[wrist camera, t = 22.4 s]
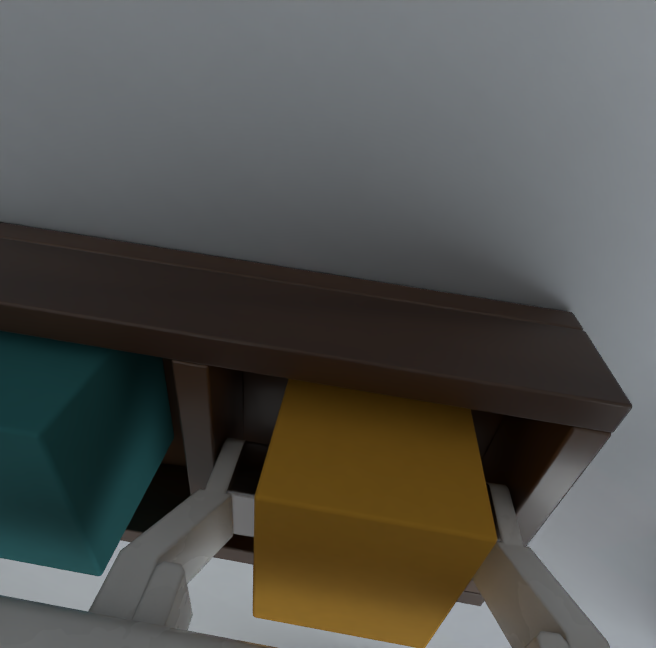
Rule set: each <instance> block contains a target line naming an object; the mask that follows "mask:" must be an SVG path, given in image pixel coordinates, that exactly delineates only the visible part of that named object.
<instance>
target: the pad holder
mask: <svg viewBox="0 0 656 648" xmlns="http://www.w3.org/2000/svg"><path fill="white" fill-rule="evenodd" d="M0 331H5V332H11V333H17V334H23V335H29V336H35V337H41V338H47V339H53V340H59V341H65V342H71V343H77V344H83V345H89V346H95V347H101V348H107V349H113V350H119V351H125V352H131V353H137V354H143V355H149V356H155V357H161V358H162V360H163V366H164V373H165V379H166V386H167V392H168V399H169V405H170V412H171V418H172V424H173V431H174V439H173V441H172V443H171V445H170V447H169V449H168V450H167V452H166V454H165V456H164V458H163V460H162V462H161V464H160V466H159V468H158V469H157V471H156V473H155V475H154V477H153V479H152V481H151V483H150V485H149V486H148V488H147V490H146V492H145V494H144V496H143V498H142V500H141V502H140V503H139V505H138V507H137V509H136V511H135V513H134V515H133V517H132V519H131V521H130V522H129V524H128V526H127V528H126V530H125V532H124V534H123V536H122V538H121V539H120V540H122V541H128V542H132V541H134V540H135V539H136V538H137V537H139V536H140V535H141V534H143V533H144V532H145V531H146V530H148V529H149V528H150V527H151V526H153V525H154V524H155V523H157V522H158V521H159V520H160V519H162V518H163V517H164V516H165V515H167V514H168V513H169V512H171V511H172V510H173V509H174V508H176V507H177V506H178V505H179V504H181V503H182V502H183V501H185V500H186V499H187V498H188V497H190V496H191V495H192V494H194V493H195V492H196V491H197V490H199V489H203V490H205V488H206V485H207V483H208V480H209V478H210V475H211V473H212V470H213V468H214V466H215V463H216V461H217V458H218V456H219V453H220V451H221V448H222V446H223V443H224V442H225V440H226V439H227V437H230V438H235V439H241V440H246V441H251V442H256V443H262V444H267V445H269V444H270V441H271V437H272V434H273V431H274V427H275V424H276V420H277V417H278V413H279V410H280V407H281V403H282V400H283V396H284V393H285V389H286V386H287V383H288V379H293V380H299V381H305V382H311V383H317V384H323V385H329V386H335V387H341V388H347V389H353V390H359V391H365V392H371V393H377V394H383V395H389V396H394V397H400V398H406V399H412V400H418V401H424V402H430V403H436V404H442V405H448V406H454V407H460V408H466V409H471V414H472V419H473V423H474V428H475V433H476V438H477V443H478V448H479V452H480V457H481V462H482V467H483V472H484V477H485V481H486V482H489V483H495V484H502V485H506V486H507V487H508V489H509V491H510V495H511V499H512V503H513V507H514V510H515V514H516V518H517V522H518V525H519V529H520V533H521V537H522V541H523V544H524V546H525V547H526V546H527V544H528V543H529V542H530V541H531V539H532V538H533V537H534V535H535V534H536V533H537V531H538V530H539V529H540V527H541V526H542V525H543V524H544V522H545V521H546V520H547V518H548V517H549V516H550V514H551V513H552V512H553V511H554V509H555V508H556V507H557V505H558V504H559V503H560V501H561V500H562V499H563V497H564V496H565V495H566V494H567V492H568V491H569V490H570V488H571V487H572V486H573V484H574V483H575V482H576V481H577V479H578V478H579V477H580V475H581V474H582V473H583V471H584V470H585V469H586V468H587V466H588V465H589V464H590V462H591V461H592V460H593V458H594V457H595V456H596V454H597V453H598V452H599V451H600V449H601V448H602V447H603V445H604V444H605V443H606V441H607V440H608V439H609V438H610V436H611V432H614V431H615V430H616V428H617V427H618V426H619V424H620V423H621V422H622V420H623V419H624V418H625V417H626V415H627V414H628V413H629V411H630V410H631V409H632V404H631V403H630V401H629V399H628V398H627V396H626V395H625V393H624V392H623V390H622V388H621V387H620V385H619V384H618V382H617V381H616V379H615V377H614V376H613V374H612V373H611V371H610V370H609V368H608V366H607V365H606V363H605V362H604V360H603V359H602V357H601V355H600V354H599V352H598V351H597V349H596V348H595V346H594V344H593V343H592V341H591V340H590V338H589V337H588V335H587V333H586V332H585V331H583V328H582V326H581V325H580V323H579V321H578V320H577V318H576V317H575V315H574V314H573V313H572V312H567V311H561V310H554V309H548V308H542V307H535V306H529V305H522V304H516V303H510V302H503V301H497V300H491V299H484V298H478V297H472V296H465V295H459V294H453V293H446V292H440V291H434V290H427V289H421V288H414V287H408V286H402V285H395V284H389V283H383V282H376V281H370V280H364V279H357V278H351V277H345V276H338V275H332V274H326V273H319V272H313V271H307V270H300V269H294V268H287V267H281V266H275V265H268V264H262V263H256V262H249V261H243V260H237V259H230V258H224V257H218V256H211V255H205V254H199V253H192V252H186V251H179V250H173V249H167V248H160V247H154V246H148V245H141V244H135V243H129V242H122V241H116V240H110V239H103V238H97V237H91V236H84V235H78V234H72V233H65V232H59V231H52V230H46V229H40V228H33V227H27V226H21V225H14V224H8V223H2V222H0ZM213 557H215V558H221V559H226V560H232V561H237V562H242V563H248V564H253V561H254V537H251V536H244V535H238V534H233V536H232V537H231V538H230V540H229V541H228V542H227V543H226V544H225V545H224V546H223V547H222V548H221V549H220V550H219V551H218V552H217V553H216V554H215V555H214V556H213ZM484 601H485V600H484V599H483V597H482V595H481V594H480V592H479V590H478V589H477V587H476V585H475V583H474V582H473V580H472V579H471V581H470V582H469V584H468V585H467V587H466V588H465V590H464V591H463V593H462V594H461V595H460V597H459V598H458V600H457V601H456V602H461V603H466V604H472V605H477V606H481V605H482V603H483V602H484Z"/></svg>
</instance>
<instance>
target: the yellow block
mask: <svg viewBox="0 0 656 648" xmlns="http://www.w3.org/2000/svg"><path fill="white" fill-rule="evenodd" d="M496 542H497V534H496V530H495V525H494V520H493V515H492V510H491V505H490V501H489V496H488V491H487V486H486V481H485V477H484V472H483V467H482V462H481V457H480V452H479V448H478V443H477V438H476V433H475V428H474V423H473V419H472V414H471V409H466V408H460V407H454V406H448V405H442V404H436V403H430V402H424V401H418V400H412V399H406V398H400V397H394V396H389V395H383V394H377V393H371V392H365V391H359V390H353V389H347V388H341V387H335V386H329V385H323V384H317V383H311V382H305V381H299V380H293V379H288V383H287V386H286V389H285V393H284V396H283V400H282V403H281V407H280V410H279V413H278V417H277V420H276V424H275V427H274V431H273V434H272V437H271V441H270V444H269V448H268V451H267V455H266V458H265V462H264V465H263V468H262V472H261V475H260V479H259V482H258V486H257V489H256V492H255V496H254V561H253V616H254V617H256V618H262V619H267V620H272V621H278V622H283V623H288V624H293V625H299V626H304V627H309V628H315V629H320V630H325V631H331V632H336V633H341V634H347V635H352V636H357V637H363V638H368V639H373V640H379V641H384V642H389V643H395V644H400V645H405V646H411V647H416V648H425V647H426V646H427V644H428V643H429V641H430V640H431V638H432V637H433V635H434V634H435V632H436V631H437V629H438V628H439V626H440V625H441V623H442V622H443V620H444V619H445V618H446V616H447V615H448V613H449V612H450V610H451V609H452V607H453V606H454V604H455V603H456V601H457V600H458V598H459V597H460V595H461V594H462V593H463V591H464V590H465V588H466V587H467V585H468V584H469V582H470V581H471V579H472V578H473V576H474V575H475V573H476V572H477V570H478V569H479V567H480V566H481V565H482V563H483V562H484V560H485V559H486V557H487V556H488V554H489V553H490V551H491V550H492V548H493V547H494V545H495V544H496Z"/></svg>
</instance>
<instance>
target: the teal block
mask: <svg viewBox="0 0 656 648" xmlns="http://www.w3.org/2000/svg"><path fill="white" fill-rule="evenodd" d="M173 439H174V431H173V424H172V418H171V412H170V405H169V399H168V392H167V386H166V379H165V373H164V366H163V360H162V358H161V357H155V356H149V355H143V354H137V353H131V352H125V351H119V350H113V349H107V348H101V347H95V346H89V345H83V344H77V343H71V342H65V341H59V340H53V339H47V338H41V337H35V336H29V335H23V334H17V333H11V332H5V331H0V558H4V559H9V560H15V561H20V562H25V563H31V564H36V565H41V566H47V567H52V568H57V569H63V570H68V571H73V572H79V573H84V574H89V575H95V576H101V575H102V574H103V572H104V570H105V568H106V566H107V564H108V562H109V560H110V558H111V557H112V555H113V553H114V551H115V549H116V547H117V545H118V543H119V541H120V539H121V538H122V536H123V534H124V532H125V530H126V528H127V526H128V524H129V522H130V521H131V519H132V517H133V515H134V513H135V511H136V509H137V507H138V505H139V503H140V502H141V500H142V498H143V496H144V494H145V492H146V490H147V488H148V486H149V485H150V483H151V481H152V479H153V477H154V475H155V473H156V471H157V469H158V468H159V466H160V464H161V462H162V460H163V458H164V456H165V454H166V452H167V450H168V449H169V447H170V445H171V443H172V441H173Z"/></svg>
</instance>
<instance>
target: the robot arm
mask: <svg viewBox="0 0 656 648" xmlns="http://www.w3.org/2000/svg"><path fill="white" fill-rule="evenodd" d="M268 448H269V445H267V444H262V443H256V442H251V441H246V440H241V439H235V438H230V437H227V439H226V440H225V442H224V443H223V446H222V448H221V451H220V453H219V456H218V458H217V461H216V463H215V466H214V468H213V470H212V473H211V475H210V478H209V480H208V483H207V485H206V488H205V490H203V489H199V490H197V491H196V492H195V493H194V494H192V495H191V496H190V497H188V498H187V499H186V500H185V501H183V502H182V503H181V504H179V505H178V506H177V507H176V508H174V509H173V510H172V511H171V512H169V513H168V514H167V515H165V516H164V517H163V518H162V519H160V520H159V521H158V522H157V523H155V524H154V525H153V526H151V527H150V528H149V529H148V530H146V531H145V532H144V533H143V534H141V535H140V536H139V537H137V538H136V539H135V540H134V541H132V542H131V543H130V544H128V545H127V546H126V547H125V548H123V549H122V550H121V551H120V552H119V554H118V556H117V558H116V560H115V562H114V564H113V566H112V568H111V569H110V571H109V573H108V575H107V577H106V579H105V581H104V583H103V585H102V587H101V589H100V590H99V592H98V594H97V596H96V598H95V600H94V602H93V604H92V606H91V608H90V609H89V611H88V612H87V611H81V610H76V609H71V608H66V607H60V606H55V605H50V604H45V603H39V602H34V601H29V600H23V599H18V598H13V597H8V596H2V595H0V648H276V647H271V646H266V645H261V644H255V643H250V642H245V641H239V640H234V639H229V638H224V637H218V636H213V635H208V634H203V633H197V632H192V631H188V628H189V625H190V622H191V618H192V609H191V603H190V598H189V592H188V587H187V584H188V583H189V582H190V581H191V580H192V579H193V578H194V576H195V575H196V574H197V573H198V572H199V571H200V570H201V569H202V568H203V567H204V566H205V565H206V564H207V563H208V562H209V561H210V560H211V559H212V557H213V556H214V555H215V554H216V553H217V552H218V551H219V550H220V549H221V548H222V547H223V546H224V545H225V544H226V543H227V542H228V541H229V540H230V538H231V537H232V536H233V534H238V535H244V536H251V537H254V496H255V492H256V489H257V486H258V482H259V479H260V475H261V472H262V468H263V465H264V462H265V458H266V455H267V451H268ZM486 486H487V491H488V496H489V501H490V505H491V510H492V515H493V520H494V525H495V530H496V534H497V542H496V544H495V545H494V547H493V548H492V550H491V551H490V553H489V554H488V556H487V557H486V559H485V560H484V562H483V563H482V565H481V566H480V567H479V569H478V570H477V572H476V573H475V575H474V576H473V578H472V580H473V582H474V583H475V585H476V587H477V589H478V590H479V592H480V594H481V595H482V597H483V599H484V600H485V602H486V604H487V606H488V607H489V609H490V611H491V612H492V614H493V616H494V617H495V619H496V621H497V623H498V624H499V626H500V628H501V629H502V631H503V633H504V635H505V636H506V638H507V640H508V641H509V643H510V645H511V646H512V648H610V646H609V643H608V641H607V640H606V639H605V638H604V636H603V635H602V634H601V633H600V632H599V630H598V629H597V628H596V627H595V625H594V624H593V623H592V622H591V621H590V619H589V618H588V617H587V616H586V615H585V613H584V612H583V611H582V610H581V609H580V607H579V606H578V605H577V604H576V603H575V601H574V600H573V599H572V598H571V597H570V595H569V594H568V593H567V592H566V591H565V589H564V588H563V587H562V586H561V585H560V583H559V582H558V581H557V580H556V579H555V577H554V576H553V575H552V574H551V573H550V571H549V570H548V569H547V568H546V567H545V565H544V564H543V563H542V562H541V560H540V559H539V558H538V557H537V556H536V554H535V553H534V552H533V551H532V550H531V548H529V547H525V546H524V544H523V541H522V537H521V533H520V529H519V525H518V522H517V518H516V514H515V510H514V507H513V503H512V499H511V495H510V491H509V489H508V487H507V486H506V485H502V484H495V483H489V482H486Z"/></svg>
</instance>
